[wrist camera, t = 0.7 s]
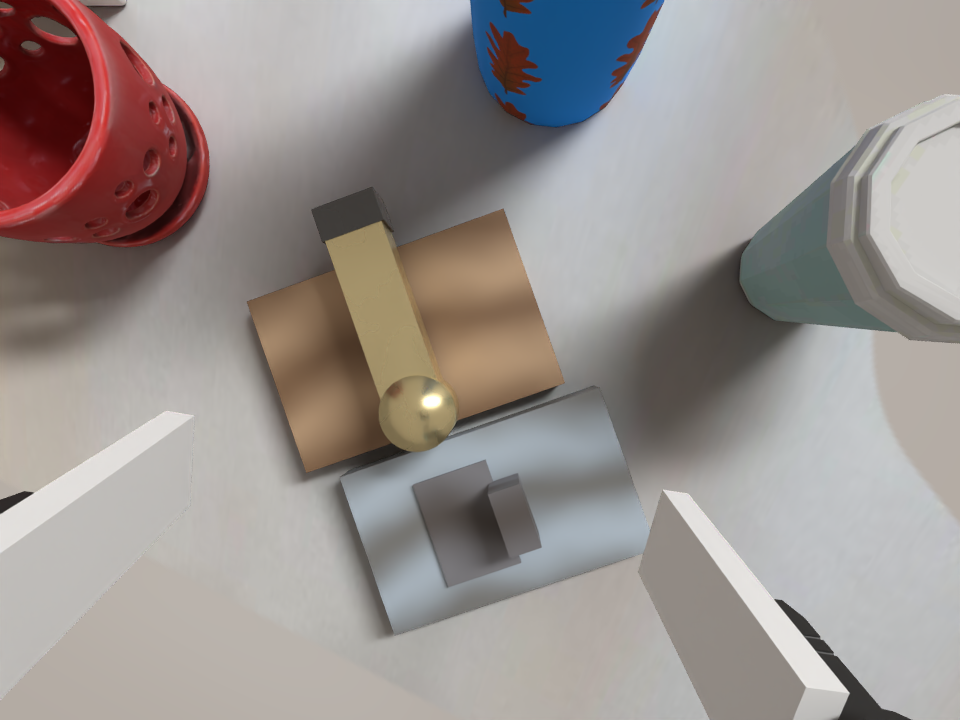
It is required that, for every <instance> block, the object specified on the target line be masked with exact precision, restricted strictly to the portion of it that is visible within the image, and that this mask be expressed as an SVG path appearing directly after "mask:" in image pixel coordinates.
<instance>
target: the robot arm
mask: <svg viewBox="0 0 960 720" xmlns="http://www.w3.org/2000/svg"><path fill="white" fill-rule="evenodd" d="M194 423H195V415H190V414H183V413H177V412H171V411H165V412H163V413H161V414H160V415H158V416H157V417H155V418H153V419H152V420H150V421H149V422H147V423H145V424H144V425H142V426H141V427H139V428H137V429H136V430H134V431H133V432H131V433H129V434H128V435H126V436H125V437H123V438H121V439H120V440H118V441H117V442H115V443H114V444H112V445H110V446H109V447H107V448H106V449H104V450H102V451H101V452H99V453H98V454H96V455H94V456H93V457H91V458H90V459H88V460H86V461H85V462H83V463H82V464H80V465H78V466H77V467H75V468H74V469H72V470H70V471H69V472H67V473H66V474H64V475H62V476H61V477H59V478H58V479H56V480H54V481H53V482H51V483H50V484H48V485H46V486H45V487H43V488H42V489H40V490H38V491H37V492H35V493H33V492H26V491H24V492H21V493H18V494H16V495H13V496H10V497H7V498H4V499H1V500H0V700H1V699H2V698H3V697H4V696H5V695H6V694H7V693H8V692H9V690H11V689H12V688H13V687H14V686H15V685H16V684H17V683H18V682H19V681H20V680H21V679H22V677H23V676H24V675H25V674H26V673H27V672H28V671H29V670H30V669H31V668H32V667H33V666H34V665H35V664H36V663H37V662H38V661H39V660H40V659H41V658H42V657H43V656H44V655H45V654H46V653H47V652H48V651H49V650H50V649H51V648H52V647H53V646H54V645H55V644H56V643H57V641H59V640H60V639H61V638H62V637H63V636H64V635H65V633H67V631H68V630H69V629H70V628H71V627H72V626H73V625H74V624H75V623H76V622H77V621H78V620H79V619H80V618H81V617H82V616H83V615H84V614H85V613H86V612H87V611H88V610H89V609H90V608H91V607H92V606H93V605H94V604H95V603H96V602H97V601H98V600H99V599H100V598H101V597H102V595H104V593H106V592H107V590H109V588H110V587H111V586H112V585H113V584H114V583H115V582H116V581H117V580H118V579H119V578H120V577H121V576H122V575H123V574H124V573H125V572H126V571H127V570H128V569H129V568H130V567H131V566H132V565H133V564H134V563H135V562H136V561H137V560H138V559H139V558H140V557H141V556H142V555H143V554H144V553H145V552H146V551H147V550H148V549H149V548H150V547H151V546H152V544H153V543H154V542H155V541H156V540H157V539H158V538H159V537H160V536H161V535H162V534H163V533H164V532H165V531H166V530H167V529H168V528H169V527H170V526H171V525H172V524H173V523H174V522H175V521H176V520H177V519H178V518H179V517H180V516H181V515H182V514H183V513H184V512H185V511H186V510H187V509H188V508H189V507H190V502H191V482H192V462H193V443H194ZM638 573H639V575H640V577H641V579H642V581H643V583H644V585H645V587H646V589H647V591H648V593H649V595H650V597H651V599H652V601H653V604H654V606H655V608H656V610H657V612H658V614H659V616H660V618H661V620H662V622H663V624H664V626H665V628H666V630H667V632H668V634H669V636H670V639H671V641H672V643H673V645H674V647H675V649H676V651H677V653H678V655H679V657H680V659H681V661H682V663H683V665H684V667H685V669H686V671H687V674H688V676H689V678H690V680H691V682H692V684H693V686H694V688H695V690H696V692H697V694H698V696H699V698H700V700H701V702H702V704H703V706H704V709H705V711H706V713H707V715H708V717H709V719H710V720H911V719H909V718H907V717H904V716H902V715H900V714H898V713H896V712H893V711H889V710H884V709H881V707H880V706H879V705H878V704H877V703H876V702H875V700H874V699H873V698H872V697H871V696H870V695H869V693H868V692H867V691H866V690H865V689H864V687H863V686H862V685H861V684H860V683H859V682H858V680H857V679H856V678H855V677H854V676H853V674H852V673H851V672H850V671H849V670H848V669H847V667H846V666H845V665H844V664H843V663H842V662H841V660H840V659H839V658H838V657H837V656H834V654H833V653H834V652H833V651H832V650H831V649H830V647H829V646H828V645H827V644H826V643H825V642H824V640H821V639H820V636H819V634H818V633H817V632H816V631H815V630H814V629H813V627H812V626H811V625H810V624H809V623H808V621H807V620H806V619H805V618H804V617H803V616H801V615H800V614H799V613H798V612H796V611H795V610H794V609H793V608H791V607H790V606H789V605H787V604H786V603H785V602H784V601H782V600H776V599H773V598H772V597H771V595H770V594H769V593H768V592H767V590H766V589H765V588H764V587H763V585H762V584H761V583H760V582H759V581H758V579H757V578H756V577H755V576H754V574H753V573H752V572H751V571H750V569H749V568H748V567H747V566H746V564H745V563H744V562H743V561H742V560H741V558H740V557H739V556H738V555H737V553H736V552H735V551H734V550H733V548H732V547H731V546H730V545H729V543H728V542H727V541H726V540H725V539H724V537H723V536H722V535H721V534H720V532H719V531H718V530H717V529H716V527H715V526H714V525H713V524H712V522H711V521H710V520H709V519H708V518H707V516H706V515H705V514H704V513H703V511H702V510H701V509H700V508H699V506H698V505H697V504H696V503H695V501H694V500H693V499H692V498H691V497H690V495H689V494H688V493H681V492H675V491H669V490H663V489H662V493H661V496H660V500H659V503H658V506H657V510H656V513H655V516H654V520H653V523H652V526H651V530H650V533H649V537H648V540H647V543H646V547H645V550H644V553H643V557H642V560H641V564H640V567H639V570H638Z"/></svg>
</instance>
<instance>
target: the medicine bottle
mask: <svg viewBox="0 0 960 720" xmlns="http://www.w3.org/2000/svg"><path fill="white" fill-rule="evenodd" d="M78 1H80V2H81V3H82V4H84V5H85V6H122V5H125V4H126V0H78Z"/></svg>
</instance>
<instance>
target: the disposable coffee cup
mask: <svg viewBox="0 0 960 720" xmlns="http://www.w3.org/2000/svg"><path fill="white" fill-rule="evenodd" d="M739 282H740V284H741V286H742V288H743V291H744V293H745V295H746V297H747V299H748V301H749V303H750V304H751V305H752V306H754V307H755V308H757V309H758V310H760V311H761V312H763V313H764V314H766V315H767V316H769V317H770V318H772V319H773V320H777V321H787V322H797V323H807V324H817V325H828V326H838V327H848V328H858V329H869V330H879V331H890V332H898V333H900V334H901V335H903V336H905V337H906V338H908V339H909V340H918V341H932V342H946V343H960V95H947V94H942V95H940V96H938V97H936V98H934V99H933V100H930V101H924V102H922V103H920V104H918V105H916V106H914V107H912V108H910V109H908V110H906V111H904V112H902V113H900V114H898V115H896V116H893V117H891V118H889V119H887V120H885V121H883V122H881V123H879V124H877V125H875V126H873V127H871V128H869V129H867V130H866V131H865V133H864V134H863V136H862V137H861V139H860V140H859V141H858V143H857V144H856V146H854V147H853V148H852V149H851V150H850V151H849V152H848V153H846V154H845V155H844V156H843V157H842V158H841V159H840V160H839V161H837V162H836V163H835V164H834V165H833V166H832V167H831V168H829V169H828V170H827V171H826V172H825V173H824V174H823V175H821V176H820V177H819V178H818V179H817V180H816V181H815V182H813V183H812V184H811V185H810V186H809V187H808V188H807V189H805V190H804V191H803V192H802V193H801V194H800V195H799V196H797V197H796V198H795V199H794V200H793V201H792V202H791V203H790V204H788V205H787V206H786V207H785V208H784V209H783V210H782V211H780V212H779V213H778V214H777V215H776V216H775V217H774V218H772V219H771V220H770V221H769V222H768V223H767V224H766V225H764V226H763V227H762V228H761V229H760V230H759V231H758V232H757V233H756V234H755V236H754V237H753V239H752V240H751V242H750V243H749V245H748V246H747V247H746V249H745V250H744V252H743V253H742V257H741V264H740V279H739Z"/></svg>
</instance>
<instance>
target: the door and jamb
mask: <svg viewBox="0 0 960 720" xmlns="http://www.w3.org/2000/svg"><path fill="white" fill-rule="evenodd" d="M397 249H398V252H399V255H400V258H401V261H402V264H403V267H404V269H405V272H406V275H407V278H408V281H409V284H410V286H411V289H412V292H413V295H414V298H415V301H416V304H417V306H418V309H419V312H420V315H421V318H422V321H423V324H424V326H425V329H426V332H427V335H428V338H429V341H430V344H431V346H432V349H433V352H434V355H435V358H436V361H437V363H438V366H439V369H440V372H441V375H442V378H443V379H444V380H445V381H447V382H448V383H449V384H450V385H451V386H452V388H453V389H454V391H455V392H456V395H457V397H458V401H459V415H458V419H457V420H460V419H463V418H466V417H469V416H472V415H475V414H477V413H480V412H483V411H486V410H489V409H492V408H495V407H498V406H500V405H503V404H506V403H509V402H512V401H515V400H518V399H521V398H523V397H526V396H529V395H532V394H535V393H538V392H541V391H544V390H546V389H549V388H552V387H555V386H558V385H561V384H564V383H565V382H564V379H563V376H562V373H561V370H560V368H559V365H558V362H557V359H556V356H555V353H554V351H553V348H552V345H551V342H550V339H549V336H548V334H547V331H546V328H545V325H544V322H543V319H542V317H541V314H540V311H539V308H538V305H537V302H536V300H535V297H534V294H533V291H532V288H531V285H530V283H529V280H528V277H527V274H526V271H525V268H524V266H523V263H522V260H521V257H520V254H519V251H518V248H517V246H516V243H515V240H514V237H513V234H512V231H511V229H510V226H509V223H508V220H507V217H506V214H505V212H504V209H501V210H498V211H495V212H493V213H490V214H487V215H484V216H482V217H479V218H476V219H473V220H471V221H468V222H465V223H462V224H459V225H457V226H454V227H451V228H448V229H446V230H443V231H440V232H437V233H435V234H432V235H429V236H426V237H424V238H421V239H418V240H415V241H413V242H410V243H407V244H404V245H402V246H399V247H397ZM247 304H248V307H249V310H250V312H251V315H252V318H253V321H254V324H255V327H256V330H257V333H258V335H259V338H260V341H261V344H262V347H263V350H264V353H265V356H266V358H267V361H268V364H269V367H270V370H271V373H272V376H273V379H274V381H275V384H276V387H277V390H278V393H279V396H280V399H281V402H282V404H283V407H284V410H285V413H286V416H287V419H288V422H289V424H290V427H291V430H292V433H293V436H294V439H295V442H296V445H297V447H298V450H299V453H300V456H301V459H302V462H303V465H304V468H305V470H306V473H308V472H311V471H313V470H316V469H319V468H322V467H325V466H328V465H331V464H334V463H336V462H339V461H342V460H345V459H348V458H351V457H354V456H357V455H359V454H362V453H365V452H368V451H371V450H374V449H377V448H380V447H382V446H385V445H388V444H391V443H392V442H391V441H390V440H389V439H388V438H387V437H386V436H385V434H384V432H383V431H382V428H381V426H380V422H379V405H380V401H381V400H380V397H379V394H378V391H377V388H376V385H375V383H374V380H373V377H372V374H371V371H370V368H369V365H368V363H367V360H366V357H365V354H364V351H363V348H362V345H361V343H360V340H359V337H358V334H357V331H356V328H355V325H354V323H353V320H352V317H351V314H350V311H349V308H348V305H347V303H346V300H345V297H344V294H343V291H342V288H341V285H340V282H339V280H338V277H337V274H336V271H335V270H333V271H330V272H327V273H325V274H322V275H319V276H316V277H314V278H311V279H308V280H305V281H302V282H300V283H297V284H294V285H291V286H289V287H286V288H283V289H280V290H278V291H275V292H272V293H269V294H267V295H264V296H261V297H258V298H256V299H253V300H250V301H247ZM340 480H341V483H342V486H343V489H344V492H345V494H346V497H347V500H348V503H349V506H350V509H351V512H352V515H353V517H354V520H355V523H356V526H357V529H358V532H359V535H360V538H361V540H362V543H363V546H364V549H365V552H366V555H367V558H368V560H369V563H370V566H371V569H372V572H373V575H374V578H375V581H376V583H377V586H378V589H379V592H380V595H381V598H382V601H383V604H384V606H385V609H386V612H387V615H388V618H389V621H390V624H391V626H392V629H393V632H394V635H398V634H401V633H404V632H407V631H410V630H413V629H416V628H419V627H422V626H425V625H428V624H431V623H434V622H437V621H440V620H443V619H446V618H449V617H452V616H455V615H458V614H461V613H464V612H467V611H470V610H473V609H476V608H480V607H483V606H486V605H489V604H492V603H495V602H498V601H501V600H504V599H507V598H510V597H513V596H516V595H519V594H522V593H525V592H528V591H531V590H534V589H537V588H540V587H543V586H546V585H549V584H552V583H555V582H558V581H561V580H564V579H567V578H570V577H573V576H576V575H579V574H582V573H585V572H588V571H591V570H594V569H597V568H600V567H603V566H606V565H609V564H612V563H615V562H618V561H621V560H624V559H627V558H630V557H633V556H636V555H639V554H642V553H644V550H645V547H646V543H647V540H648V537H649V533H650V529H649V526H648V523H647V521H646V518H645V515H644V512H643V509H642V506H641V504H640V501H639V498H638V495H637V492H636V489H635V487H634V484H633V481H632V478H631V475H630V472H629V470H628V467H627V464H626V461H625V458H624V455H623V453H622V450H621V447H620V444H619V441H618V438H617V436H616V433H615V430H614V427H613V424H612V421H611V419H610V416H609V413H608V410H607V407H606V404H605V402H604V399H603V396H602V393H601V390H600V387H596V386H592V387H589V388H586V389H583V390H580V391H578V392H575V393H572V394H569V395H566V396H563V397H560V398H557V399H555V400H552V401H549V402H546V403H543V404H540V405H537V406H534V407H531V408H529V409H526V410H523V411H520V412H517V413H514V414H511V415H508V416H505V417H503V418H500V419H497V420H494V421H491V422H488V423H485V424H482V425H479V426H477V427H474V428H471V429H468V430H465V431H462V432H459V433H456V434H454V435H451V436H448V437H446V439H445V440H444V441H443V442H442V443H440V444H439V445H438V446H436V447H434V448H432V449H430V450H427V451H422V452H411V451H404V452H402V453H399V454H396V455H393V456H390V457H387V458H384V459H381V460H378V461H376V462H373V463H370V464H367V465H364V466H361V467H358V468H355V469H353V470H350V471H348V472H346V473H345V474H344V475H342V476H341V477H340Z"/></svg>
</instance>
